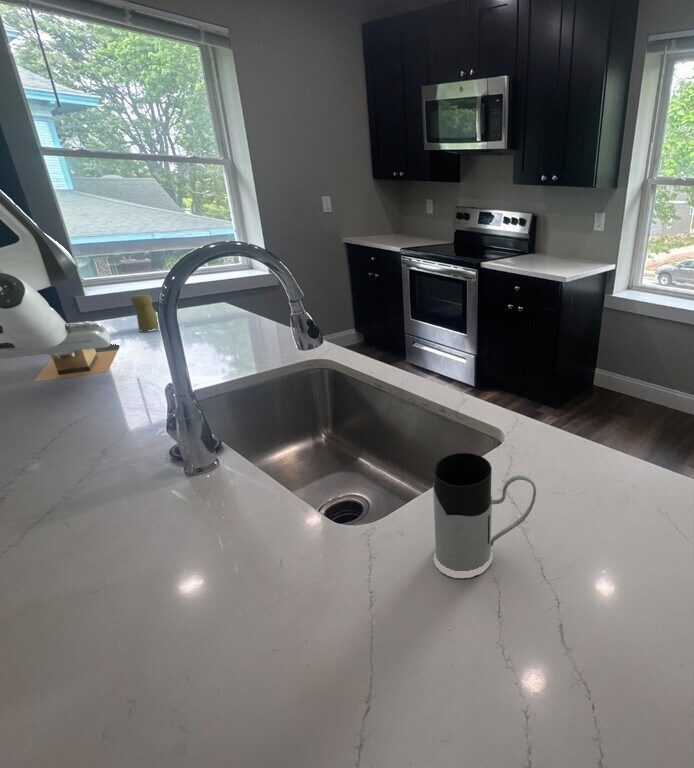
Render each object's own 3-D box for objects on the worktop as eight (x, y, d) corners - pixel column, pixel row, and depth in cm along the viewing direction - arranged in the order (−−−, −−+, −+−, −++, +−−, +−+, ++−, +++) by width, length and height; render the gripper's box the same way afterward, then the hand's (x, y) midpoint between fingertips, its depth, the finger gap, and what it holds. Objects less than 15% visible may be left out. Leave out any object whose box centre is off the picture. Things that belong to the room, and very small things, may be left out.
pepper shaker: (134, 331, 145) (122, 296, 141) (150, 325, 151) (140, 291, 146) (151, 333, 145) (140, 298, 140) (167, 327, 150) (157, 293, 145)
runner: (33, 382, 111) (33, 381, 111) (63, 344, 134) (63, 343, 134) (107, 372, 118) (107, 371, 118) (124, 337, 140) (124, 336, 140)
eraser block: (58, 374, 115) (46, 346, 112) (68, 360, 123) (57, 333, 120) (90, 370, 118) (79, 342, 115) (98, 357, 126) (88, 330, 123)
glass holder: (435, 533, 71) (432, 450, 64) (528, 532, 72) (534, 450, 65) (429, 579, 63) (425, 490, 56) (534, 578, 64) (541, 489, 57)
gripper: (98, 310, 108) (118, 337, 120) (-26, 321, 98) (9, 349, 110) (101, 334, 106) (121, 359, 118) (-25, 347, 97) (11, 373, 108)
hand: (66, 354), depth 114 cm, fingers closed, pressing on eraser block
